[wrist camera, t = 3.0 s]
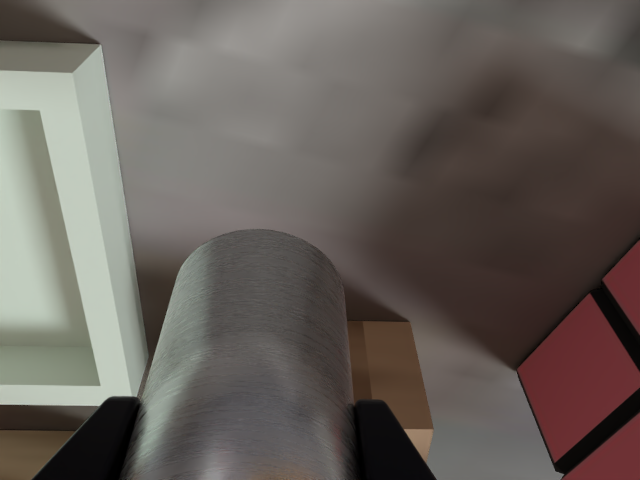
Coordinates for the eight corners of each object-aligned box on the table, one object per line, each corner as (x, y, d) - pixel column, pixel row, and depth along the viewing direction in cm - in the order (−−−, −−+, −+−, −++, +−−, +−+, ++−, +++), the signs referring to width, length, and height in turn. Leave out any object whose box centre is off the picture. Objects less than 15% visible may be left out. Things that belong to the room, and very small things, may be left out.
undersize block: (392, 426, 26) (409, 538, 22) (253, 425, 26) (243, 537, 22) (410, 322, 23) (433, 429, 19) (250, 318, 23) (239, 427, 18)
